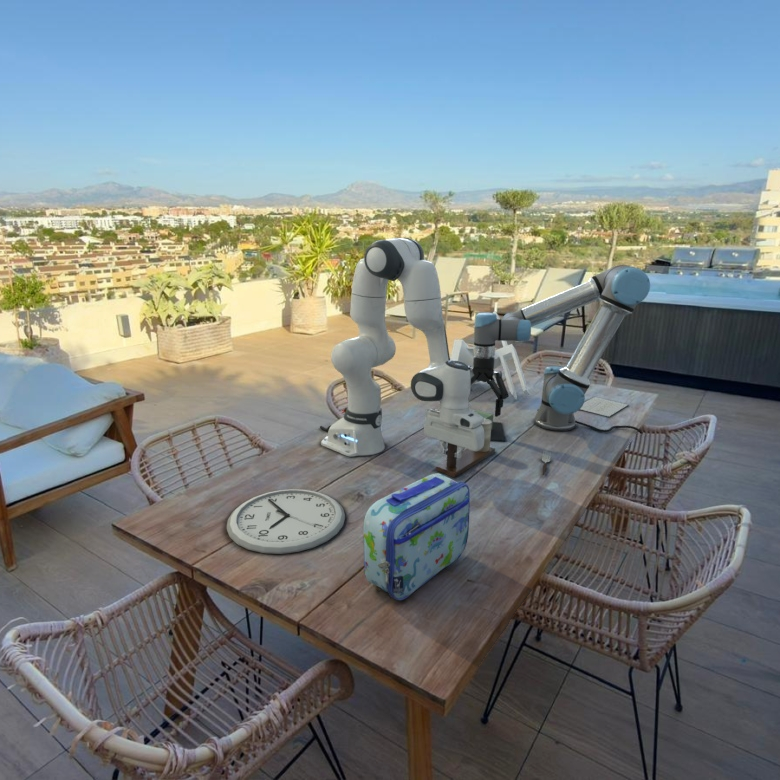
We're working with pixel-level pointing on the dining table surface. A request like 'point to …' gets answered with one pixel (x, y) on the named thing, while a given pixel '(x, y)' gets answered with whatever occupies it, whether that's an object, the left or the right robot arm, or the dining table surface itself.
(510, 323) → the right robot arm
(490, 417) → the sage green cube
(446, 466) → the caddy
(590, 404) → the invitation card
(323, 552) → the dining table surface
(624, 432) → the dining table surface
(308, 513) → the wall clock
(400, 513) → the lunch box
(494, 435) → the slate mat
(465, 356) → the white plastic object
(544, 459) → the fork
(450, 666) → the dining table surface
